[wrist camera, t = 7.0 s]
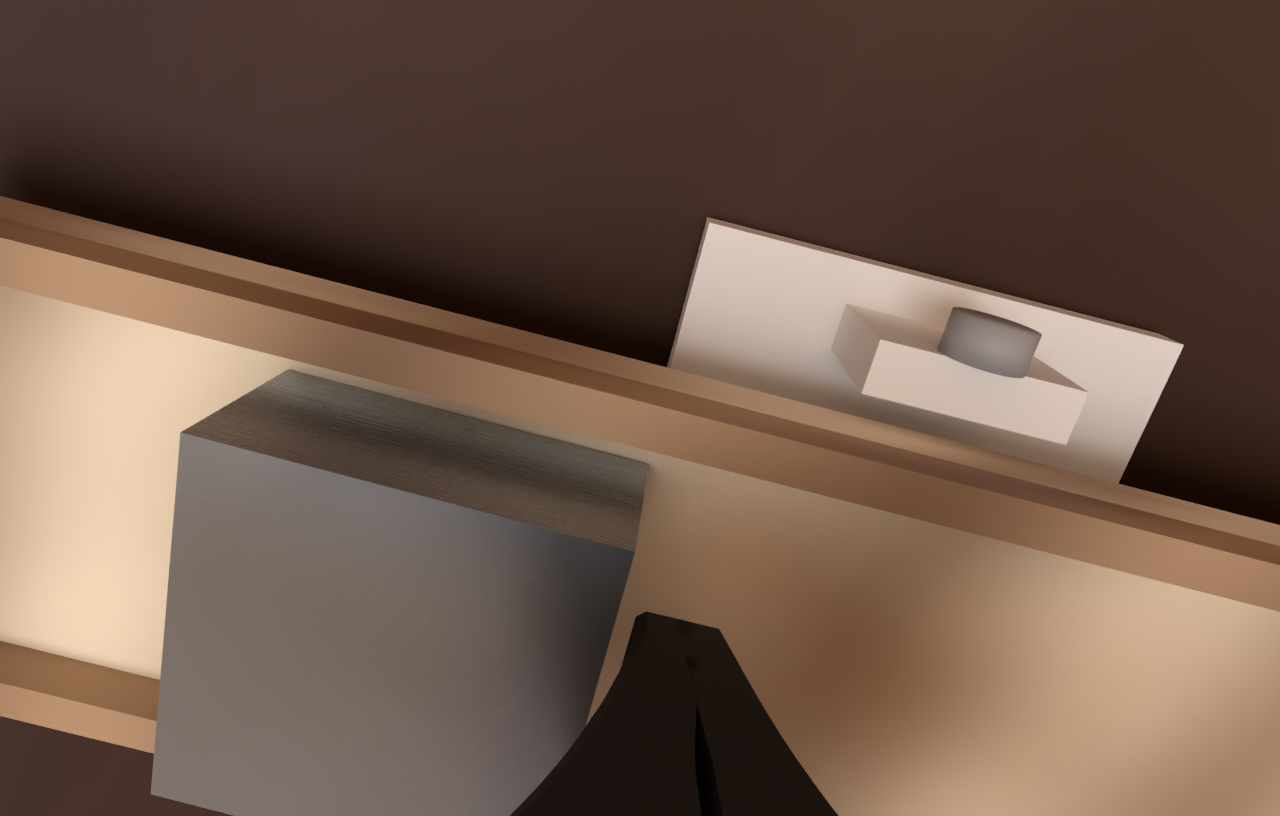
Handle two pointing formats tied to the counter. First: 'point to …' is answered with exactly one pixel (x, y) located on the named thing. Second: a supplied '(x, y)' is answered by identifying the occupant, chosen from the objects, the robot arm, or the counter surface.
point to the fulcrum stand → (919, 351)
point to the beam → (659, 540)
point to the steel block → (382, 605)
